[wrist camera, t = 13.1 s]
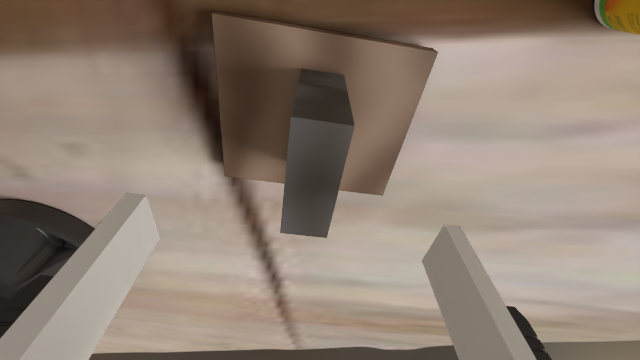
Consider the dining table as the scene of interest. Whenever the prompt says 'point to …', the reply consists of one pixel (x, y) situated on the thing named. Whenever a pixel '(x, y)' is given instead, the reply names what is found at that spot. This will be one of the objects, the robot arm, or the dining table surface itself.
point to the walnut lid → (313, 110)
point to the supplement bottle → (619, 14)
